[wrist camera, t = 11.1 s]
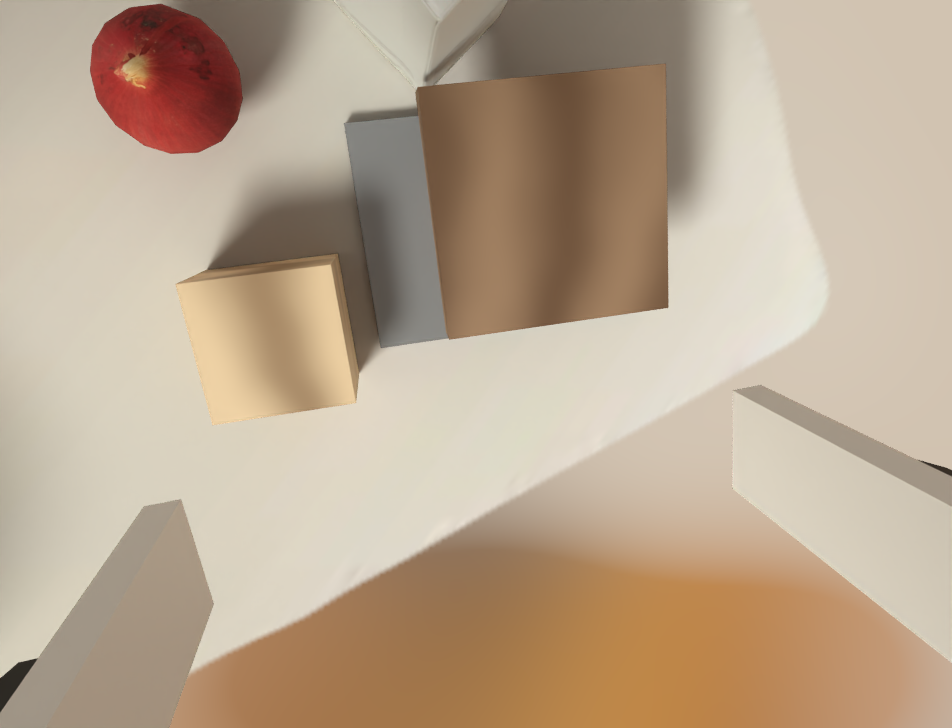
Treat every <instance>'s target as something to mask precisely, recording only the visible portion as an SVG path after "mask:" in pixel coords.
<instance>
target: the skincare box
mask: <svg viewBox="0 0 952 728" xmlns="http://www.w3.org/2000/svg"><path fill="white" fill-rule="evenodd" d="M333 1H334V2H335V3H336V4H337V5H338V6H339V8H340V9H341V10H342V11H343V12H344V13H345V14H346V15H347V16H348V17H349V19H350V20H351V21H352V22H353V23H354V24H355V25H356V26H357V27H358V28H359V29H360V31H361V32H362V33H363V34H364V35H365V36H366V37H367V38H368V39H369V40H370V41H371V43H372V44H373V45H374V46H375V47H376V48H377V49H378V50H379V51H380V52H381V53H382V55H383V56H384V57H385V58H386V59H387V60H388V61H389V62H390V63H391V64H392V65H393V66H394V67H395V68H397V69H398V70H399V71H400V72H401V73H402V74H403V75H404V77H405V78H406V79H407V80H408V81H409V82H410V84H411V85H412V86H413V87H414V88H415V90H417V87H423V86H433V85H435V84H436V83H437V82H438V81H439V80H440V79H441V77H442V76H443V75H444V74H445V73H446V72H447V71H448V70H449V69H450V68H451V67H452V66H453V65H454V64H455V63H456V62H457V61H458V60H459V59H460V58H461V57H462V56H463V55H464V53H465V52H466V51H467V50H468V49H469V48H470V47H471V46H472V45H473V44H474V43H475V42H476V41H477V40H478V39H479V38H480V37H481V36H482V34H483V33H484V32H485V31H486V30H487V29H488V28H489V27H490V26H491V25H492V24H493V23H494V22H495V21H496V20H497V18H498V17H499V16H500V14H501V12H502V10H503V9H504V7H505V5H506V3H507V1H508V0H333Z"/></svg>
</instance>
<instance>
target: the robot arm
mask: <svg viewBox="0 0 952 728" xmlns="http://www.w3.org/2000/svg"><path fill="white" fill-rule="evenodd" d="M732 439H733V440H732V441H733V444H732V445H733V446H732V450H733V451H732V453H733V454H732V456H733V457H732V459H733V460H732V473H733V474H732V475H733V477H732V484H733V485H732V489H734V490H735V491H736V492H737V493H739V494H740V495H741V496H742V497H744V498H745V499H746V500H748V501H749V502H750V503H751V504H752V505H754V506H755V507H756V508H758V509H759V510H760V511H761V512H763V513H764V514H765V515H766V516H768V517H769V518H770V519H771V520H773V521H774V522H775V523H776V524H778V525H779V526H780V527H781V528H783V529H784V530H785V531H786V532H788V533H789V534H790V535H791V536H793V537H794V538H795V539H796V540H798V541H799V542H800V543H802V544H803V545H804V546H805V547H807V548H808V549H809V550H810V551H812V552H813V553H814V554H815V555H817V556H818V557H819V558H820V559H822V560H823V561H824V562H825V563H827V564H828V565H829V566H830V567H832V568H833V569H834V570H836V571H837V572H838V573H839V574H841V575H842V576H843V577H844V578H845V579H847V580H848V581H849V582H850V583H852V584H853V585H854V586H856V587H857V588H858V589H859V590H861V591H862V592H863V593H864V594H866V595H867V596H868V597H869V598H871V599H872V600H873V601H874V602H876V603H877V604H878V605H880V606H881V607H882V608H883V609H884V610H886V611H887V612H888V613H889V614H891V615H892V616H893V617H894V618H896V619H897V620H898V621H899V622H901V623H902V624H903V625H905V626H906V627H907V628H908V629H910V630H911V631H912V632H913V633H915V634H916V635H917V636H918V637H920V638H921V639H922V640H923V641H925V642H926V643H927V644H928V645H930V646H931V647H932V648H934V649H935V650H936V651H937V652H939V653H940V654H941V655H942V656H943V657H945V658H946V659H947V660H949V661H950V662H952V470H950V469H948V468H945V467H941V466H937V465H934V464H931V463H927V462H924V461H920V460H916V459H914V458H912V457H910V456H907V455H906V454H904V453H901V452H899V451H897V450H895V449H893V448H891V447H889V446H887V445H885V444H883V443H881V442H879V441H876V440H874V439H872V438H870V437H868V436H866V435H864V434H862V433H860V432H858V431H856V430H854V429H851V428H849V427H847V426H845V425H843V424H841V423H838V422H837V421H835V420H833V419H831V418H829V417H826V416H824V415H822V414H820V413H818V412H816V411H814V410H812V409H810V408H808V407H806V406H803V405H801V404H799V403H797V402H795V401H793V400H791V399H789V398H787V397H785V396H783V395H781V394H778V393H776V392H774V391H772V390H770V389H768V388H766V387H764V386H762V385H758V386H753V387H748V388H743V389H738V390H733V438H732ZM213 605H214V603H213V600H212V596H211V593H210V590H209V587H208V584H207V580H206V577H205V574H204V571H203V568H202V565H201V561H200V558H199V555H198V552H197V549H196V545H195V542H194V539H193V536H192V533H191V530H190V526H189V523H188V520H187V517H186V514H185V510H184V507H183V504H182V501H181V499H180V500H175V501H170V502H165V503H160V504H155V505H149V506H144V507H143V509H142V510H141V512H140V513H139V514H138V516H137V517H136V519H135V520H134V522H133V523H132V524H131V526H130V527H129V529H128V530H127V532H126V533H125V534H124V536H123V537H122V539H121V540H120V542H119V543H118V545H117V546H116V547H115V549H114V550H113V552H112V553H111V555H110V556H109V557H108V559H107V560H106V562H105V563H104V565H103V566H102V567H101V569H100V570H99V572H98V573H97V575H96V576H95V577H94V579H93V580H92V582H91V583H90V585H89V586H88V588H87V589H86V590H85V592H84V593H83V595H82V596H81V598H80V599H79V600H78V602H77V603H76V605H75V606H74V608H73V609H72V610H71V612H70V613H69V615H68V616H67V618H66V619H65V621H64V622H63V623H62V625H61V626H60V628H59V629H58V631H57V632H56V633H55V635H54V636H53V638H52V639H51V641H50V642H49V643H48V645H47V646H46V648H45V649H44V651H43V652H42V653H41V655H40V656H39V658H37V659H33V660H28V661H24V662H19V663H18V664H16V665H15V666H14V667H13V668H12V669H11V670H9V671H8V672H7V673H6V674H5V675H4V676H2V677H1V678H0V728H169V726H170V723H171V721H172V718H173V715H174V712H175V710H176V707H177V704H178V701H179V699H180V696H181V693H182V690H183V688H184V685H185V682H186V679H187V677H188V674H189V671H190V668H191V666H192V663H193V660H194V657H195V654H196V652H197V649H198V646H199V643H200V641H201V638H202V635H203V632H204V630H205V627H206V624H207V621H208V619H209V616H210V613H211V610H212V607H213Z"/></svg>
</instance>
